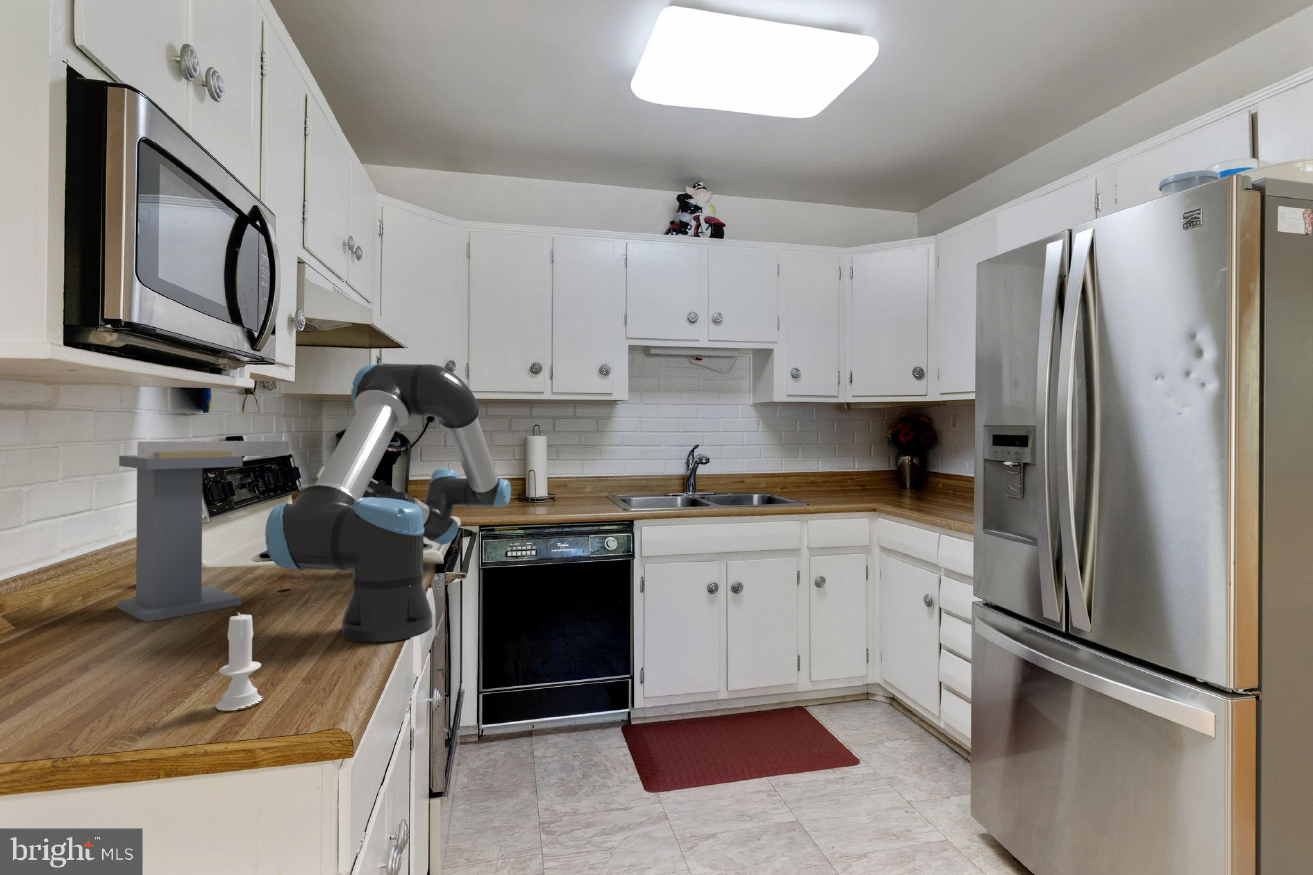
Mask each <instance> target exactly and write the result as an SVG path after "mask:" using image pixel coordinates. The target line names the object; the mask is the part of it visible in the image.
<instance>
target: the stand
mask: <svg viewBox="0 0 1313 875" xmlns="http://www.w3.org/2000/svg"><path fill="white" fill-rule="evenodd" d="M118 466H119V467H124V468H130V469H131V468H132V469H133V468H134V469H136V556H135V557H136V574H135V576H136V579H135V581H136V582H135V586H136V587H135V589H136V590H135V592H136V593H135V594H136V595H135V598H130V599H122V600H118V602H117V603H118V605H117V608H118V610H121V611H122V612H124V613H126V614H128V615H130V616H132V617H134V618H136V619H138V620H141V621H142V620H143V621H142V622H144V621H145V622H144V623H151V622H155V621H154V620H157V621H160V620H167V619H171V618H177V617H181V616H182V617H183V616H188V615H195V614H199V613H200V614H201V613H203V612H204V613H205V612H209V611H217V610H221V609H226V608H231V607H236V606H241V605H242V597H241V596H239V595H236V594H233V593H231V592H228V591H225V590H222V589H219V588H216V587H214V586H209V585H208V586H205V587H204V586H203V587H202V584H203V583H202V577H203V576H202V575H203V574H202V571H203V469H207V468H210V469H211V468H232V467H233V468H236V467H239V468H241V467H243V456H232V457H199V458H137V454H135V455H134V454H133V455H119V457H118ZM150 621H151V622H150Z"/></svg>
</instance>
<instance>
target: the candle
mask: <svg viewBox="0 0 1313 875" xmlns="http://www.w3.org/2000/svg"><path fill="white" fill-rule="evenodd" d="M253 637H254V629H253V616H252V615H251V614H241V613H240V612H237V615H235V616H230V617H229V621H228V631H227V640H228V664H227V665H223V666H222V667H221V668H219V670H218V672H219V674H221V675H224V676H227V677H229V678H231V682H230V683H229V686H228V687H227V690H226V691H225V692H223V694H222V696H221V697H222V698H221V700H220V701H219V702H217V703H216V705H215V709H216V708H217V709H218V711H219V710H237V709H238V708H245V706H251V705H252V704H255V703H259V702H258V701H261V700H262V699H263V698H264V697H263V698H261V697H262V695H261V696H260V694H259V693H258V688H257V687H255V686H254V685H253V684H252V681H251V680H250V677H249V675H250V674H253V673H254V672H255V671H257V670H258V669H260V668H261V667H262V663H261V662H259V661H253ZM217 709H216V710H217Z"/></svg>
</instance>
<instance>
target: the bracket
mask: <svg viewBox="0 0 1313 875" xmlns="http://www.w3.org/2000/svg"><path fill="white" fill-rule="evenodd" d="M199 457H232V452H175V453H158V458H199Z"/></svg>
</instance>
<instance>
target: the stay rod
mask: <svg viewBox="0 0 1313 875" xmlns="http://www.w3.org/2000/svg"><path fill="white" fill-rule="evenodd" d="M136 450H137V453H136V455H137V458H158V453H175V452H232V456H242V457H259V456H261V457H262V456H263V457H264V456H265V457H266V456H289V455H290V441H289V440H240V441H239V440H225V441H224V440H207V441H206V440H205V441H204V440H201V441H198V440H197V441H196V440H193V441H192V440H191V441H189V440H188V441H187V440H186V441H184V440H183V441H182V440H181V441H180V440H179V441H178V440H175V441H173V440H171V441H170V440H169V441H166V440H165V441H163V440H162V441H161V440H159V441H137V448H136Z"/></svg>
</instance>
